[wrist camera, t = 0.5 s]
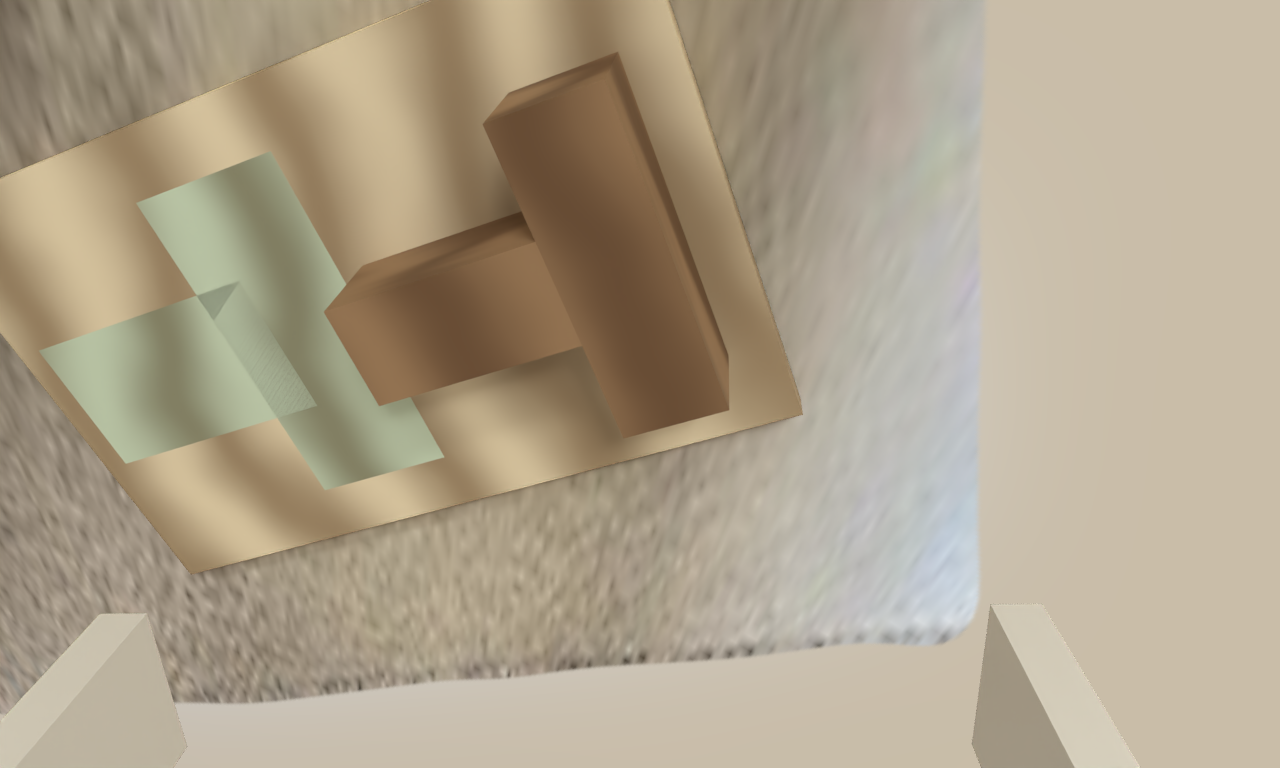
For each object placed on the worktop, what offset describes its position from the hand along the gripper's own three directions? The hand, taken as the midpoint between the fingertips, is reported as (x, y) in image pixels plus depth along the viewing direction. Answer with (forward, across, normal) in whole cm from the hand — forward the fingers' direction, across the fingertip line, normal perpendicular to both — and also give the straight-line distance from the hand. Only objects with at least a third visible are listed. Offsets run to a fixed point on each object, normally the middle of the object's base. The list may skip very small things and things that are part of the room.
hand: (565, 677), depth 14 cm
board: (+24, -10, -1) cm, 26 cm away
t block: (+22, -4, +1) cm, 22 cm away
